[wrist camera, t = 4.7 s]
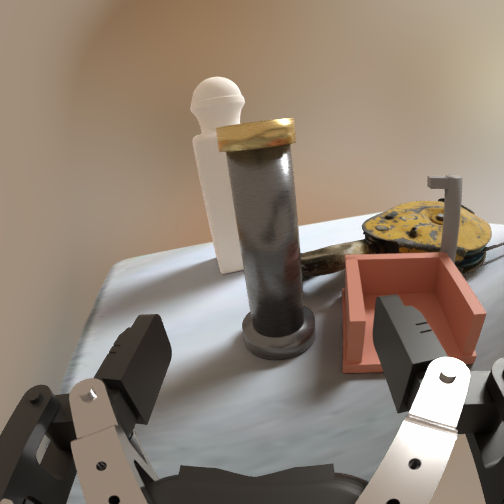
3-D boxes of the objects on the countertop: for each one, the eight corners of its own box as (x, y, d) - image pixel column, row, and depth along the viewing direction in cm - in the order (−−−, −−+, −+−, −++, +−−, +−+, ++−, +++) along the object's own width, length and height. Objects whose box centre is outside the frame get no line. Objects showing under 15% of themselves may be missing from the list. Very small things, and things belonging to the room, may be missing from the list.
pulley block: (261, 210, 34) (452, 183, 38) (264, 255, 37) (446, 217, 42) (308, 286, 22) (521, 225, 27) (307, 339, 25) (509, 264, 30)
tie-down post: (317, 315, 26) (303, 117, 20) (312, 361, 21) (295, 117, 15) (253, 315, 27) (225, 126, 21) (237, 357, 22) (194, 131, 16)
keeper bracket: (446, 286, 26) (458, 175, 22) (484, 361, 16) (524, 214, 12) (341, 290, 29) (338, 175, 25) (342, 373, 19) (346, 214, 15)
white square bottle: (273, 266, 36) (248, 68, 27) (217, 277, 35) (183, 76, 26) (260, 246, 42) (237, 79, 33) (212, 256, 41) (183, 86, 32)
